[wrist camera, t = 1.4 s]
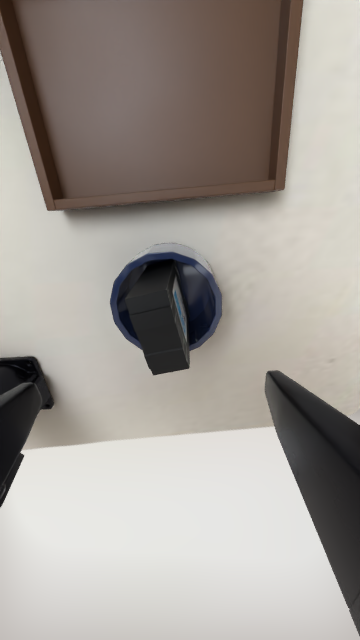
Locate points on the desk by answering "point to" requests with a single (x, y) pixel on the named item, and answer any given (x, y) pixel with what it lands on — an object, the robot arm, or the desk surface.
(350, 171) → the desk surface
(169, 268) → the ink cartridge
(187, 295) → the cup
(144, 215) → the desk surface
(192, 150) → the tray
